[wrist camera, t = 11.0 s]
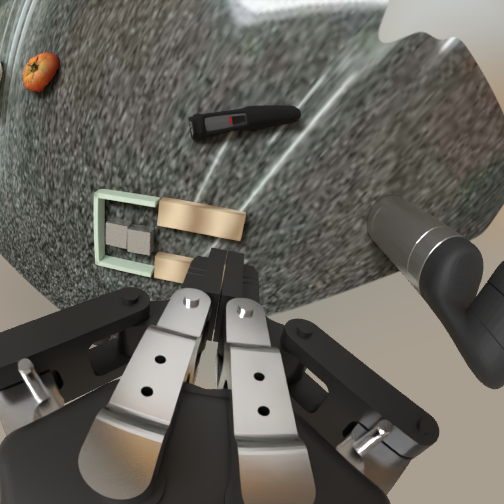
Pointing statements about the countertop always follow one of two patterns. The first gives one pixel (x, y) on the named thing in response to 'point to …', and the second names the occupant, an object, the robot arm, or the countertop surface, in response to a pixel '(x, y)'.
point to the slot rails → (197, 221)
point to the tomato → (40, 71)
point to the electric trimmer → (241, 120)
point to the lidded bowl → (1, 71)
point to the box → (100, 230)
